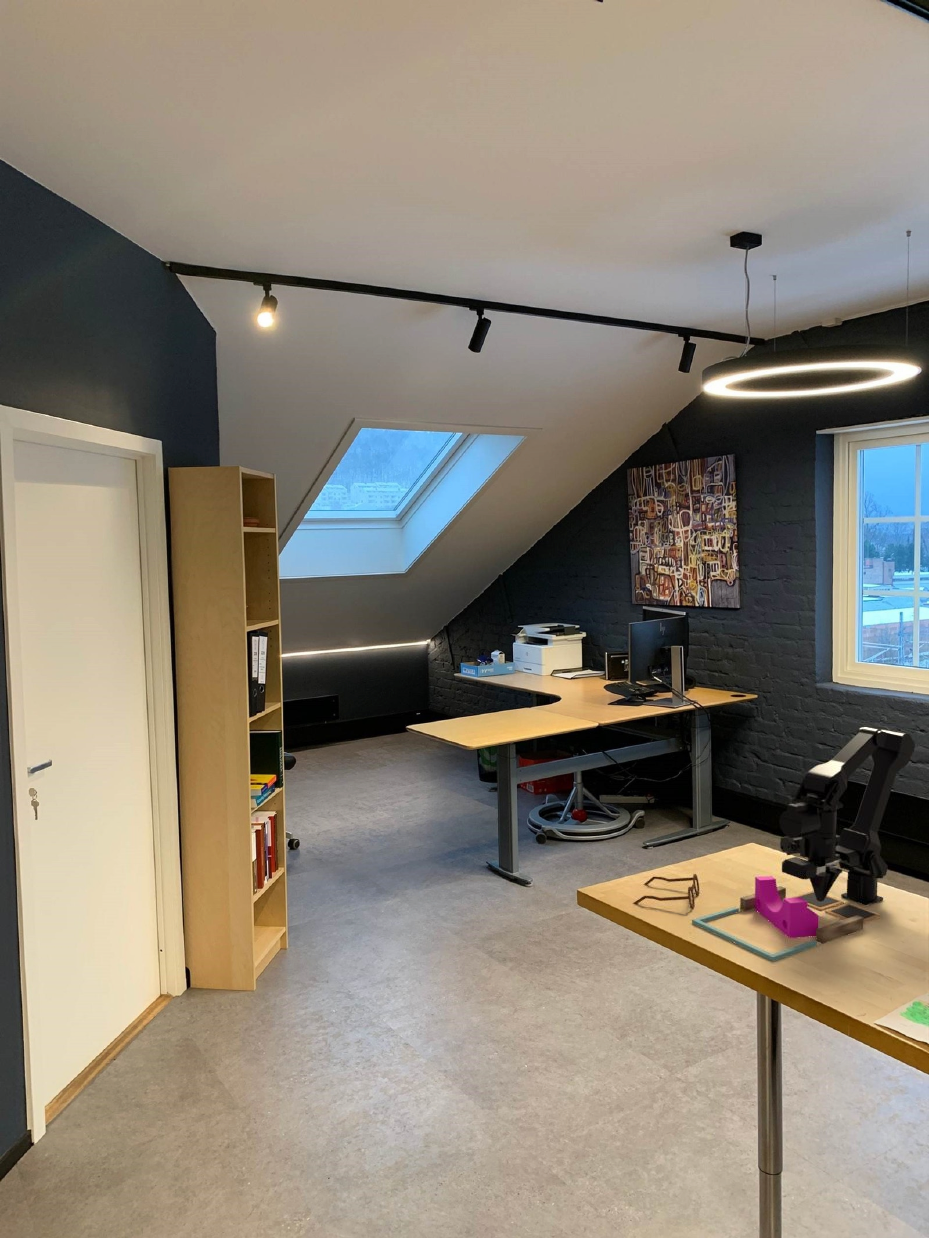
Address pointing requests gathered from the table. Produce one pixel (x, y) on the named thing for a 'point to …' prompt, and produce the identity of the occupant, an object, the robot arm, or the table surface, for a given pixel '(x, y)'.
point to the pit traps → (841, 911)
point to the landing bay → (744, 944)
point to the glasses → (675, 897)
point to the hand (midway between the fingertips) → (820, 900)
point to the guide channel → (822, 933)
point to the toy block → (784, 910)
